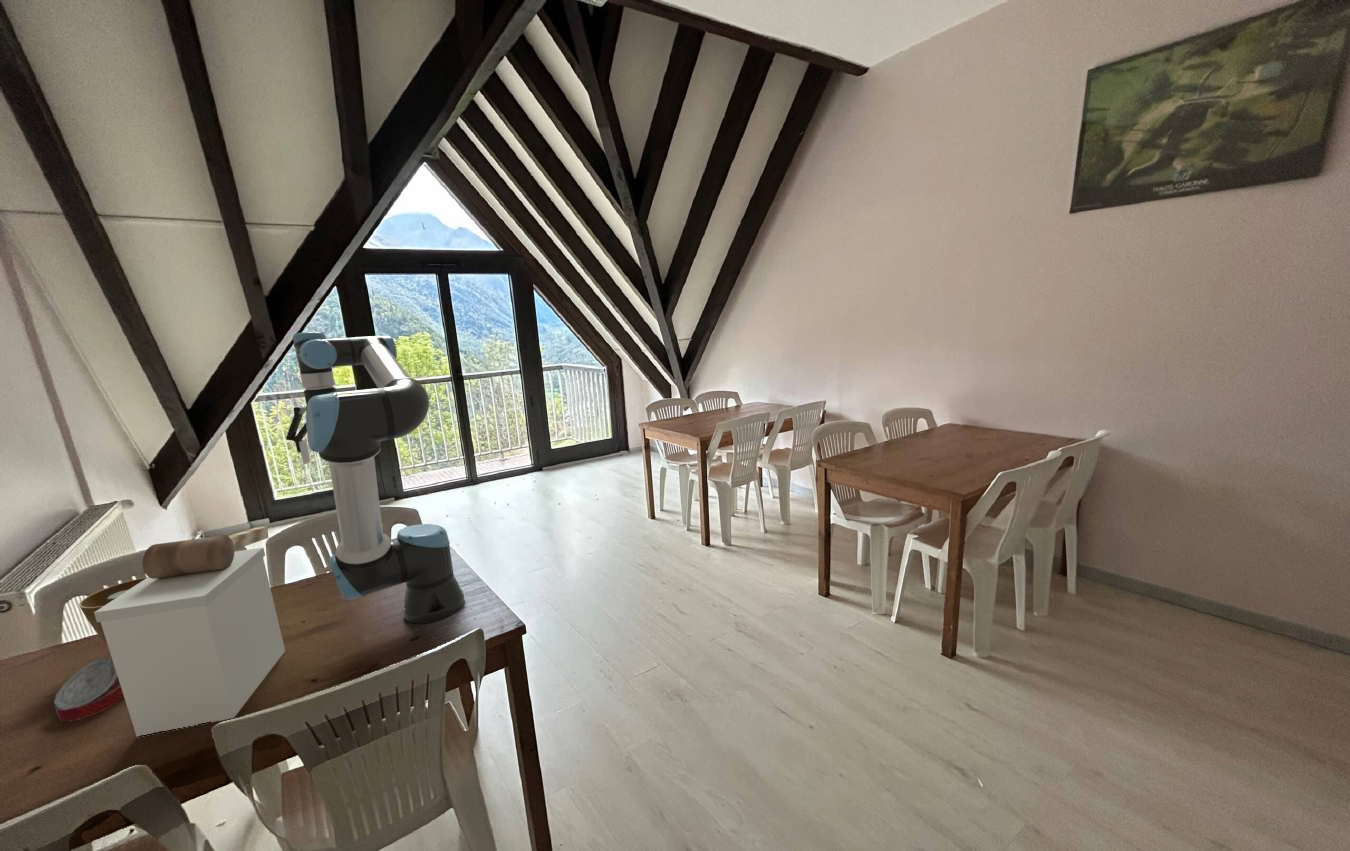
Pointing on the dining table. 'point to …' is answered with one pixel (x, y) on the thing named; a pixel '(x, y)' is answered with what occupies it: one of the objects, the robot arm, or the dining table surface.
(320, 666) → the dining table surface
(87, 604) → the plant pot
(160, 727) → the pedestal
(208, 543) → the mallet
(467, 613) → the dining table surface
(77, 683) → the canned food
